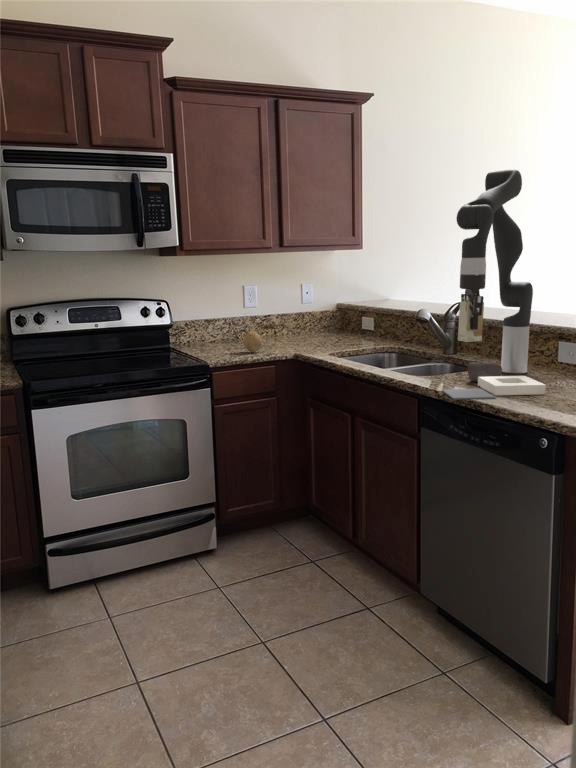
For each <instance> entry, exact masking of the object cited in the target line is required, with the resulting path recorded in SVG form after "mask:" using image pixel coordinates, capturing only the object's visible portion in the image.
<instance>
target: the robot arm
mask: <svg viewBox="0 0 576 768" xmlns="http://www.w3.org/2000/svg"><path fill="white" fill-rule="evenodd" d="M484 182H485V183H484V186H485V187H484V188H485V191H483V192H482V193H481V194H480V195H479V196H478V197H477V198H475V199H474V200H472V201H470V202H468V203H466V204H464V205H462V206H461V207H460V208H459V209H458V212H457V213H456V224H457V226H458V227H459V228H460V229H462V230H478V231H477V233H476V234H475V235H474V236H471V237H466V238H464V239H463V240H462V242H461V260H460V265H459V266H460V269H459V271H460V272H459V289H461V290H464V293H461V294H460V298H461V299H460V302H463V301H467V302H470V303H472V305H473V307H472V306H471V304H470V305H469V309H470V316H471V317H470V329H471V330H477V329H478V317H479V316H481V315H482V307H483V302H484V296H482V295H481V294H480V290H483V289H485V288H486V278H487V277H486V275H487V261H486V255H487V242H488V237H489V234H490V231H491V228H492V233H493V243H494V249H495V256H496V260H497V261H496V262H497V269H498V281H499V282H498V283H499V284H498V285H499V299H500V303H501V305H502V306H504V307H506V308H519V310H518V312H516V313H515V314H512V315H510V316H506V317H504V318H503V320H502V321H503V322H502V324H503V325H502V342H501V359H500V360H501V361H500V362H501V365H500V366H501V367H502V373H508V374H525V373H527V371H528V362H529V361H528V359H529V357H528V356H529V341H530V327H531V326H530V322H531V316H532V315H531V314H532V304H533V295H534V288H533V285H532V283H531V282H529V281H512V278H511V275H512V271H513V269H514V267H515V266H516V264H517V262H518V260H519V259H520V258H521V255H522V253H523V249H524V245H523V244H524V243H523V236H522V235H523V233H522V230H521V228H520V227H519V226H518V224H517V223H516V221H514V219H513V218H512V217H511V216H510V215H509V214H508V213H507V211H506V210H505V208H504V205H505V204H506V203H507V202H509V201H511V200H513V199H514V198H517V197H518V196H519V195H520V193H521V190H522V188H523V178H522V173H521V172H520V170H518V169H515V168H514V169H512V168H510V169H502V170H494V171H489V172H487V174H486V176H485V180H484Z"/></svg>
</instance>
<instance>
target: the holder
mask: <svg viewBox="0 0 576 768" xmlns="http://www.w3.org/2000/svg"><path fill="white" fill-rule="evenodd" d="M477 386H478V387H479V386H480V387H479V388H480V389H483V390H484V391H486V392H488V393H490V394H491V395H493V396H519V395H520V396H521V395H527V396H528V395H530V396H531V395H546V386H547V385H546V384H544V383H542V382H540V381H538V380H536V379H534V378H531V377H528V376H526V375H501V376H488V377H478V381H477Z"/></svg>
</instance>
